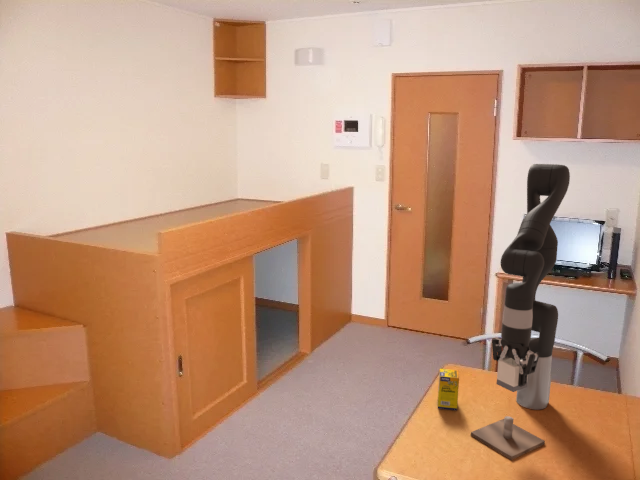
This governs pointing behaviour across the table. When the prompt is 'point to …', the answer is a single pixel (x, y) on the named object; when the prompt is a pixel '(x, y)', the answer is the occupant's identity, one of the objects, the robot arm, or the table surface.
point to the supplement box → (448, 389)
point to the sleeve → (509, 374)
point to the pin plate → (507, 438)
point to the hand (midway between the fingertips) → (511, 381)
